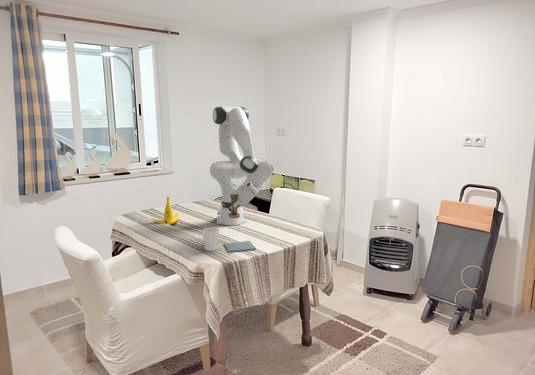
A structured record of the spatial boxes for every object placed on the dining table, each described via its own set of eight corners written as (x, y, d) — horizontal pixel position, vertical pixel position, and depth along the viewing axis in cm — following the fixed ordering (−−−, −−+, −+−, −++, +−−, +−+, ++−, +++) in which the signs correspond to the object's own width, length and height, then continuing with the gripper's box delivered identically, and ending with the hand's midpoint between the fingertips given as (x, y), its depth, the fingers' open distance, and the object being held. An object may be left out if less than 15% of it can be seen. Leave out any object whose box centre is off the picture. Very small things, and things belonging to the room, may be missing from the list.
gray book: (223, 244, 206) (223, 243, 206) (249, 242, 210) (249, 240, 210) (228, 252, 195) (228, 251, 195) (255, 249, 199) (255, 248, 199)
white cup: (207, 245, 205) (207, 227, 203) (221, 247, 203) (221, 228, 201) (201, 250, 198) (200, 231, 196) (215, 252, 195) (215, 232, 193)
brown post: (227, 215, 213) (227, 194, 211) (238, 215, 215) (238, 193, 213) (230, 218, 207) (229, 196, 205) (241, 217, 209) (241, 195, 207)
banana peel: (177, 226, 240) (176, 199, 237) (150, 223, 246) (149, 197, 243) (190, 219, 255) (189, 194, 252) (165, 216, 261) (164, 192, 258)
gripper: (241, 179, 219) (224, 197, 218) (251, 185, 200) (233, 205, 199) (249, 186, 222) (232, 204, 220) (259, 193, 202) (241, 213, 201)
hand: (232, 205), depth 210 cm, fingers closed on brown post, 3 cm apart
